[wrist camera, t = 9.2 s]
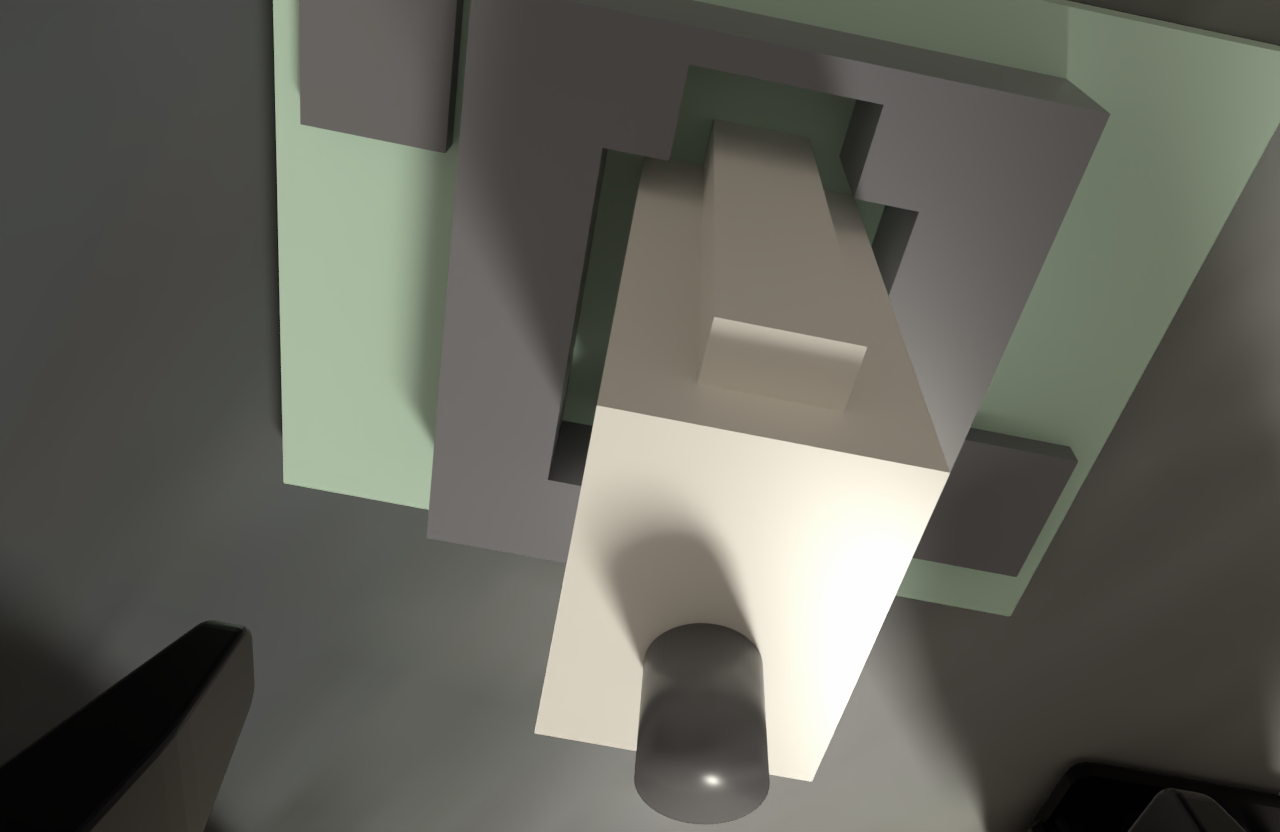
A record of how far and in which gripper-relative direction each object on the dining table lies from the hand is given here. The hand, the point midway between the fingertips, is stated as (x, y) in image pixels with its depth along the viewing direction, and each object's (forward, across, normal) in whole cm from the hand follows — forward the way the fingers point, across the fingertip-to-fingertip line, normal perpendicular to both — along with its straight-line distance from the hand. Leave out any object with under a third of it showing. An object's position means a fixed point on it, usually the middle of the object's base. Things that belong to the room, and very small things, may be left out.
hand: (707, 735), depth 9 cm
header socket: (+10, 0, 0) cm, 11 cm away
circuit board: (+10, 0, 0) cm, 11 cm away
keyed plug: (+10, 0, 0) cm, 10 cm away
